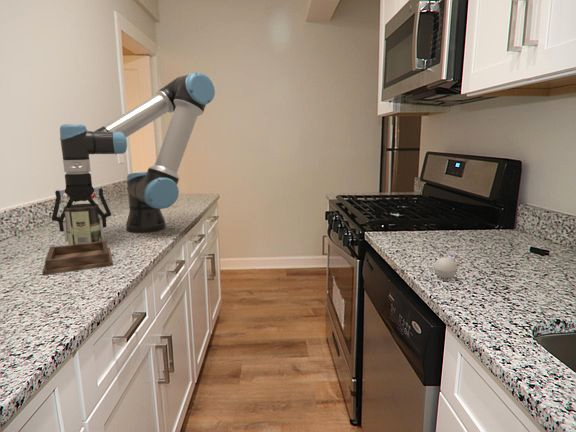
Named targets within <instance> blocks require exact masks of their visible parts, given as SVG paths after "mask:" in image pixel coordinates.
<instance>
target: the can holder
mask: <svg viewBox="0 0 576 432" xmlns="http://www.w3.org/2000/svg"><path fill="white" fill-rule="evenodd" d="M44 260H45V261H44V266H43V267H42V276H45V275H46V276H47V275H53V274H60V273H67V272H73V271H74V272H75V271H80V270H81V271H82V270H88V269H94V268H95V269H97V268H103V267H109V266H110V267H111V266H114V262H113V257H112V251H111V248H110V246H109V247H108V242H107V240H102V241H101V242H92V243H83V244H74V245H68V244H67V245H57V246H50V247H49V249H48V251H47V254H46V258H45V259H44Z"/></svg>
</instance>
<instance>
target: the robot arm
mask: <svg viewBox="0 0 576 432" xmlns="http://www.w3.org/2000/svg"><path fill="white" fill-rule="evenodd" d="M215 91H216V90H215V86H214V84H213V81H212V80H211V78H210V77H209V76H208V75H206V74H205V73H203V72H199V71H198V72H197V71H196V72H190V73H189V74H186V75H182V76H178V77H176V78H174V79H173V80H171V81H170V82H169V83H168V84H166V85H164V86H163V87H162V88H160V89H158V90H157V91H156V92H155V93H156V94H155V95H154V96H152V97H150V98H148V99H146V100H145V101H144V102H142V103H140V104H138V105H137V106H134V107H133V108H132V109H130V110H128V111H126V112H124V113H123V114H122V115H121V114H120V116H118V117H116V118H115V119H113V120H111V121H109V122H108V123H105V125H103V126H102V127H99V128H98V129H96V130H94V131H93V130H92V131H90V130H88V129H87V126H86V125H85V124H71V123H69V124H62V125H60V127H59V135H60V136H59V137H60V138H59V140H60V146H61V154H62V155H61V156H62V163H63V171H64V173H65V175H64V180H65V189H62V190H61V189H56V190H55V191H54V193H55V202H54V207H53V210H52V211H53V212H52V214H51V215H52V216H51V221H55V222H58V227H59V232H63V236H64V242H65V243H66V242H67V243H68V237H67V229H66V221H65V211H64V209H63V211H62V212H61V214H60V216H58V214H59V209H60V204H61V200H62V197H64V194H66V195H67V196H68V197H69V199H68V200H67V203H66V205H65V206H66V207H65V206H64V207H65V208H70V207H71V205H73V203H75V202H78V201H87V200H88V201H89V202H90V203H91V205H92V206H96V205H97V204H96V203H95V201H94V200H93V199H92V198H91V195H92V196H93V195H94V193H95V195H97V196H99V199H100V201H101V203H102V207H103V209H104V213H105V214H104V213H103V212H102V210H101V209H100V208H99V207H98V213H99V215H100V216H101V217H102V218H100V228H101V238H102V239H104V238H105V235H104V228H107V218H108V217H111V216H112V213H111V210H110V208H109V205H108V203H107V200H106V199H105V196H104V190H103V188H102V187H99V188H97V187H96V188H95V187H93V182H92V174H91V173H90V172H92V171H91V164H90V162H91V161H90V155H118V154H119V155H120V154H121V155H123V154H125V153H126V152H127V149H128V141H127V138H128V137H129V136H131V135H133V134H135V133H136V132H138V131H139V130H141V129H143V128H144V127H146V126H147V125H149V124H150V123H152V122H154V121H155V120H157V119H159V118H160V117H162V116H163V115H165V114H167V113H169V114H172V113H173V114H172V115H171V116H172V117H171V119H170V121H169V125H168V127H167V130H166V132H165V135H164V138H163V140H162V143H161V146H160V148H159V152H158V155H157V156H156V159H155V162H154V165H152V166H150V167H148V168H147V171H143V172H142V171H139V172H132V173H128V174H127V176H126V184H127V194H128V195H127V196H128V205H129V206H128V207H129V212H128V216H127V221H126V225H125V226H126V232H127V231H128V232H131V233H151V232H157V231H161V230H164V229H165V228H166V227H167V225H166V219H165V218H164V216H163V215H164V214H163V213H162V209H168V208H169V207H172V206H173V205H174V204H175V203H176V201H177V200H178V198H179V193H180V192H179V186H178V183H179V181H180V177H179V175H178V171H179V168H180V165H181V162H182V159H183V158H184V154H185V152H186V149H187V146H188V143H189V142H190V141H189V140H190V137H191V135H192V132H193V130H194V127H195V124H196V121H197V119H198V116H201V115H203V114H204V111H205V108H206V106H207V105H208V104H210V103H211V102H212V101H213V100H214V97H215V94H216V92H215Z"/></svg>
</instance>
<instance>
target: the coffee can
mask: <svg viewBox="0 0 576 432" xmlns="http://www.w3.org/2000/svg"><path fill="white" fill-rule="evenodd" d="M74 204H75V203H74ZM74 204H72V205H71V207H70V208H65V207H66V205H65V206H63V210H64V211H65V218H64V221H66V229H67V237H68V241H67V243H68V244H67V245H74V244H83V243H92V242H101V241H103V238H101V228H100V218H99V213H98V207H99V205H98V204H97V205H96V206H92V205H91V204H75V205H74Z"/></svg>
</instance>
